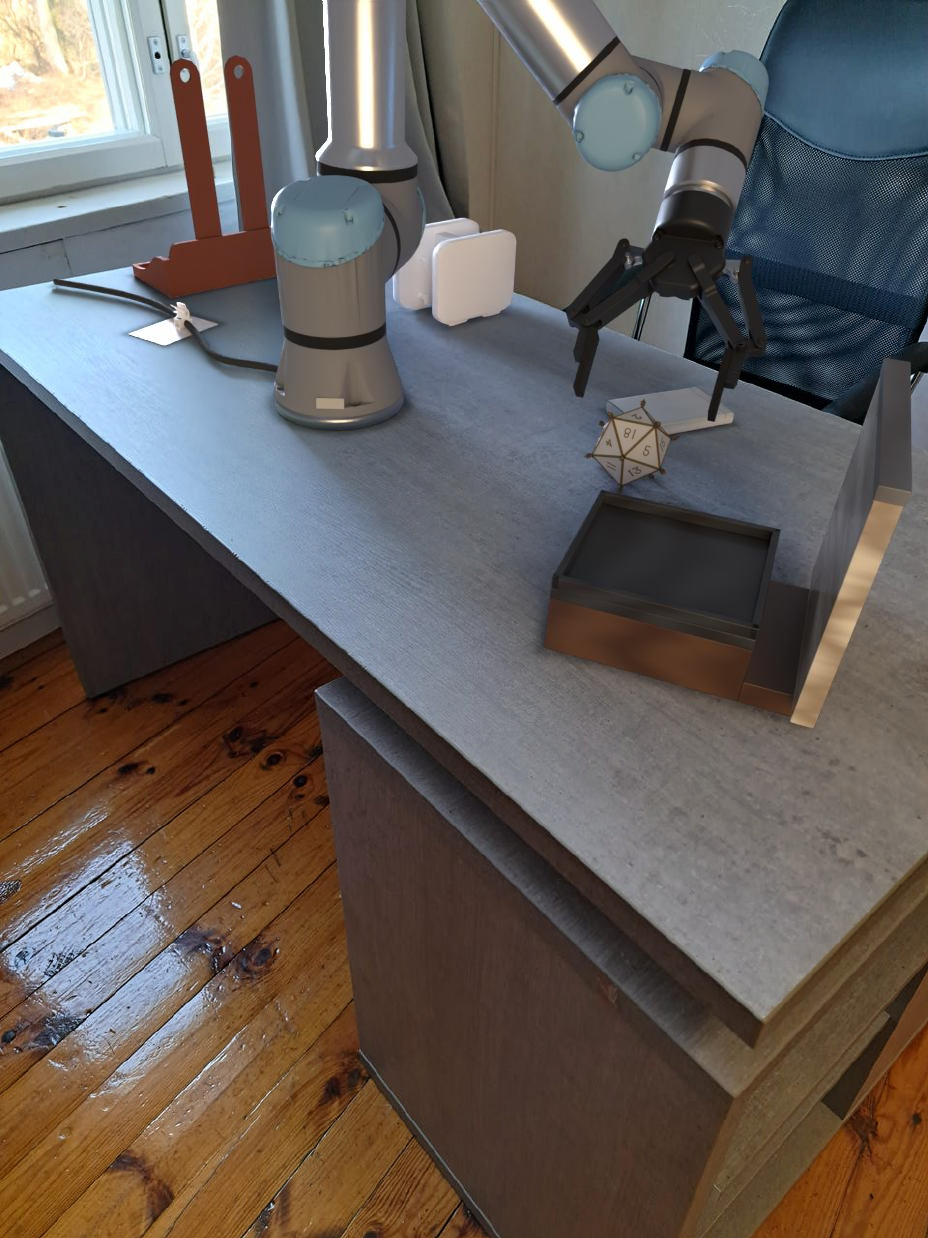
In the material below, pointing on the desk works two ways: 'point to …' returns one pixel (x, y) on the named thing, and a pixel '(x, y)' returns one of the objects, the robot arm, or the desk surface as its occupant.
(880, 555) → the holder
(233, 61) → the hanging shelf
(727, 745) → the desk surface
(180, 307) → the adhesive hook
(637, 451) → the game die
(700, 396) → the hard drive
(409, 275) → the cable organizer
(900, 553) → the desk surface
